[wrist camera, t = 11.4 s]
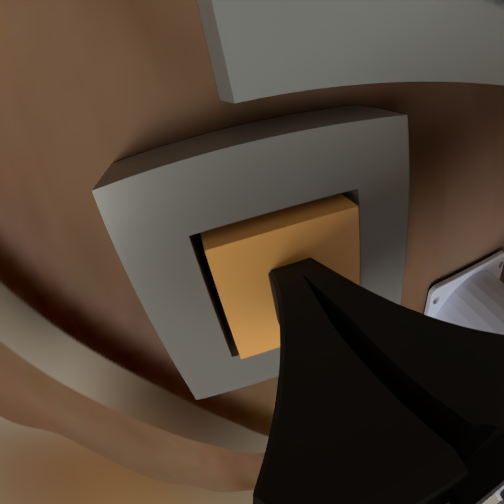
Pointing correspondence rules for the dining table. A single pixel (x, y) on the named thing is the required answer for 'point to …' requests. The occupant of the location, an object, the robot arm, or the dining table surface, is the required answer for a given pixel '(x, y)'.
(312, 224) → the button
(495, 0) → the steel block
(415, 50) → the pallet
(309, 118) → the button housing
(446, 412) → the robot arm
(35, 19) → the dining table surface
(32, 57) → the dining table surface
